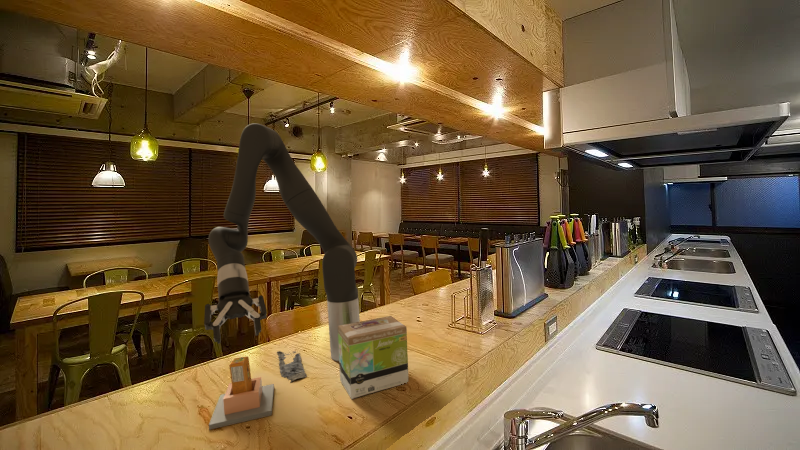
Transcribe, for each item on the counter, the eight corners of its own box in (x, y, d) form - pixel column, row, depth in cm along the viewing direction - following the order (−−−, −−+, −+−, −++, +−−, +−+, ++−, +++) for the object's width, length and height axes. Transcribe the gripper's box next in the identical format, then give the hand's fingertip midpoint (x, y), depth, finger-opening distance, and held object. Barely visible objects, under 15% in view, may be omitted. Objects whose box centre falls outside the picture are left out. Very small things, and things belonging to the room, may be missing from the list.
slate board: (274, 387, 83) (273, 383, 83) (271, 415, 72) (271, 410, 72) (220, 398, 79) (220, 394, 79) (209, 429, 68) (208, 424, 68)
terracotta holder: (262, 391, 80) (261, 376, 80) (259, 407, 73) (258, 391, 73) (230, 397, 78) (229, 383, 77) (224, 414, 71) (223, 399, 71)
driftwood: (307, 380, 87) (307, 373, 87) (280, 387, 84) (279, 379, 84) (299, 351, 106) (299, 345, 106) (277, 356, 103) (276, 350, 103)
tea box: (351, 401, 75) (347, 338, 74) (339, 381, 84) (336, 324, 83) (410, 383, 82) (407, 324, 81) (393, 366, 91) (390, 313, 90)
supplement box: (238, 399, 77) (234, 357, 76) (253, 397, 77) (250, 355, 77) (232, 407, 74) (228, 363, 73) (248, 405, 74) (245, 362, 73)
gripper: (201, 280, 85) (203, 337, 76) (261, 272, 92) (270, 324, 82) (204, 296, 90) (206, 352, 81) (260, 287, 97) (268, 338, 87)
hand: (238, 337), depth 81 cm, fingers open, 8 cm apart
